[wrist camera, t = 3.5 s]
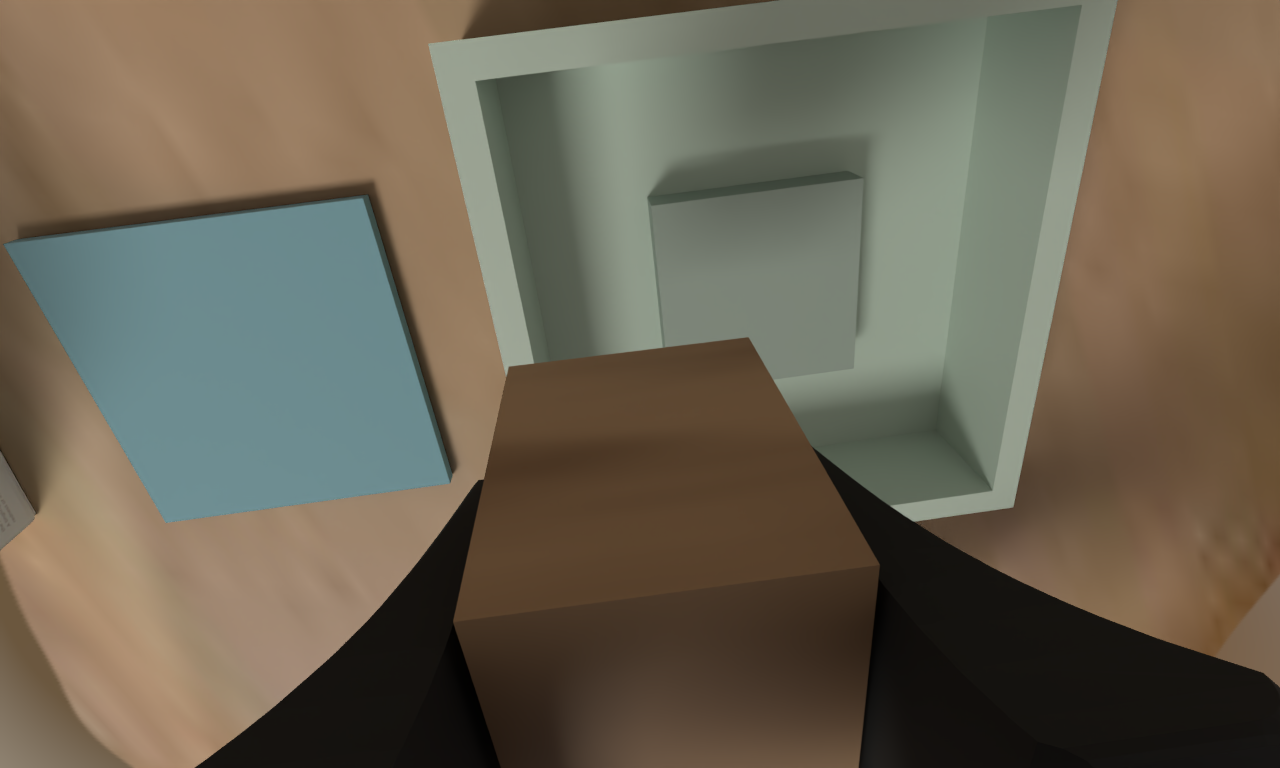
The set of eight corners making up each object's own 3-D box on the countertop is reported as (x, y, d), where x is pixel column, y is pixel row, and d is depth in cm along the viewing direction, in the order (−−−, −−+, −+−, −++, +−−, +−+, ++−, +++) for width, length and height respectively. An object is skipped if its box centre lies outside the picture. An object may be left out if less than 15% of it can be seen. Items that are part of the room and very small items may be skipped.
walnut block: (751, 523, 14) (854, 808, 9) (547, 550, 14) (529, 855, 9) (748, 336, 12) (880, 565, 7) (508, 366, 12) (453, 621, 7)
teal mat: (452, 475, 23) (450, 483, 23) (173, 513, 23) (165, 522, 23) (367, 194, 19) (362, 198, 18) (17, 239, 18) (3, 244, 18)
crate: (943, 433, 25) (1013, 507, 21) (556, 488, 25) (552, 573, 21) (1004, -24, 18) (1126, -43, 14) (462, 43, 18) (427, 43, 14)
